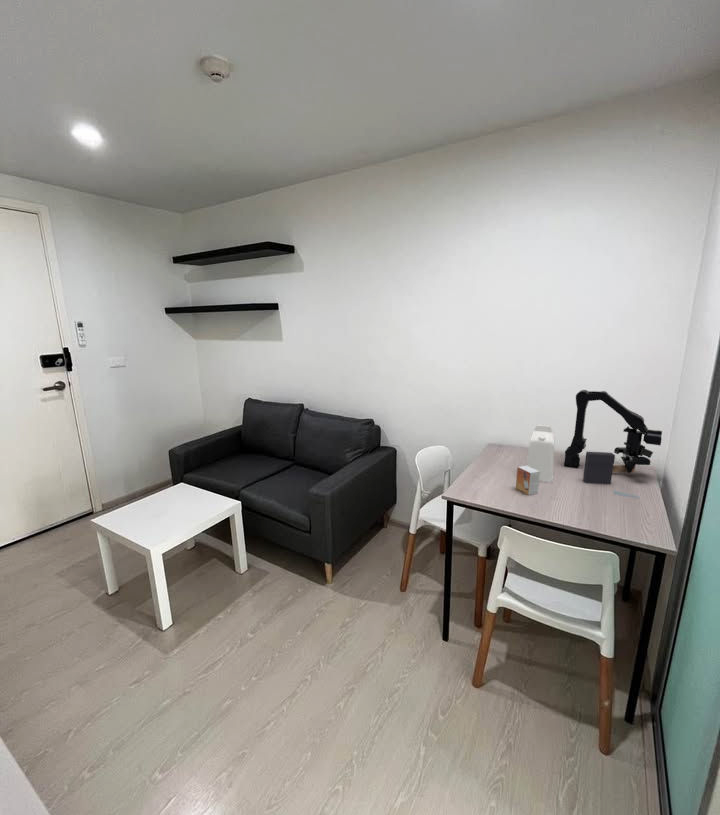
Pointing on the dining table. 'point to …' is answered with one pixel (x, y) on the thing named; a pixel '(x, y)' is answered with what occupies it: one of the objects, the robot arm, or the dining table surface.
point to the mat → (624, 494)
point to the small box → (527, 480)
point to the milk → (542, 452)
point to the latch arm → (620, 468)
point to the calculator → (598, 467)
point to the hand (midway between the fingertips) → (629, 472)
